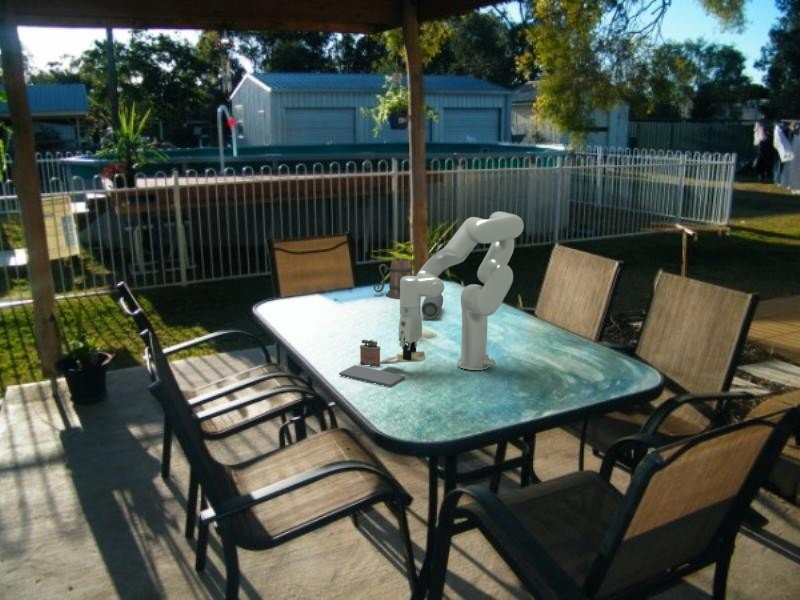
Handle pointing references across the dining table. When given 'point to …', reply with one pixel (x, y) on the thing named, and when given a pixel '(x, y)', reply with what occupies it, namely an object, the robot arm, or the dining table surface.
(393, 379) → the mat
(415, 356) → the turner
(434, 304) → the bluetooth speaker
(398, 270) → the tankard
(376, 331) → the dining table surface
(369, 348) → the lighter
